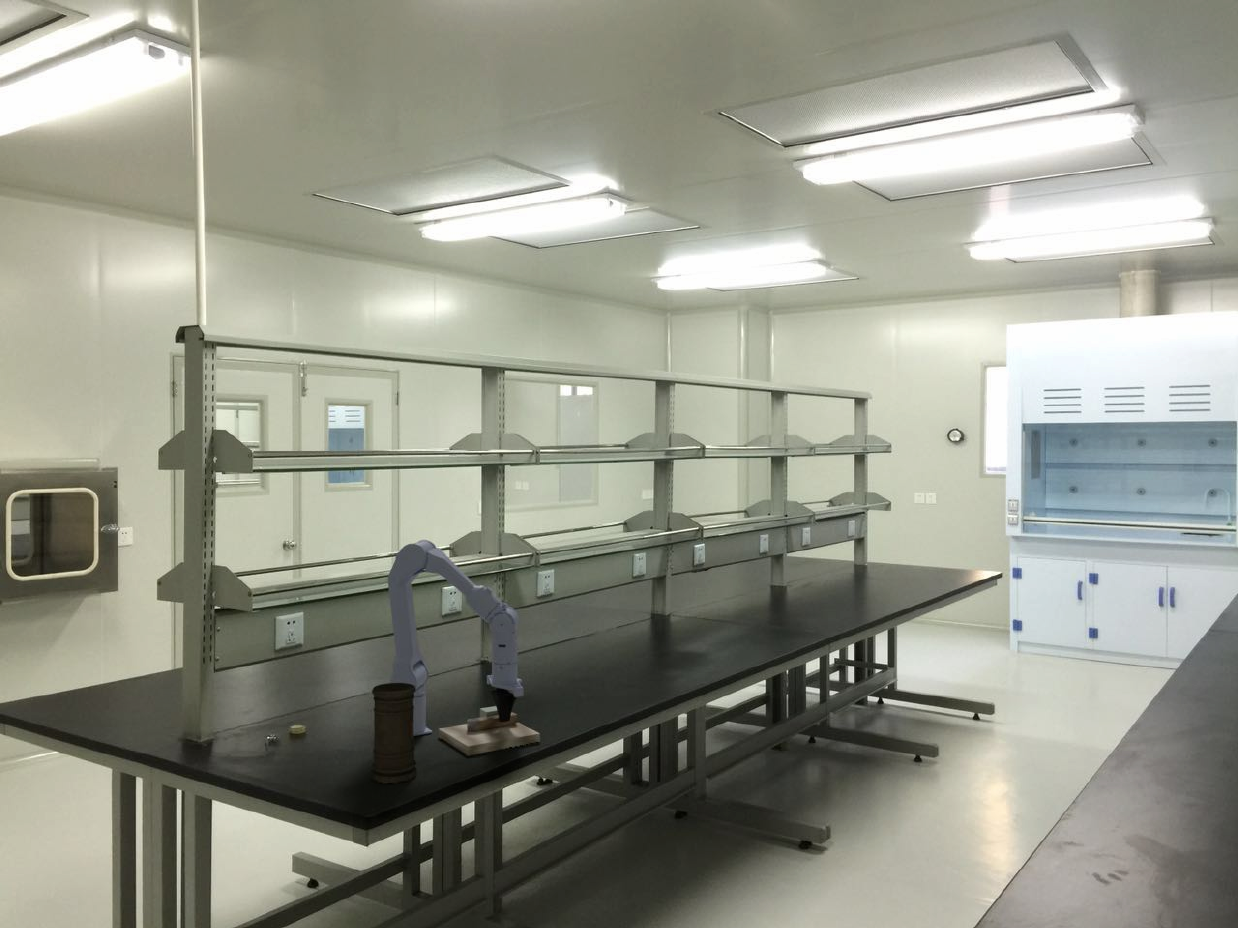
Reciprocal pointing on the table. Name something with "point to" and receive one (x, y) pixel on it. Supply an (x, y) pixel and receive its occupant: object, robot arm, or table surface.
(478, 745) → the stool seat
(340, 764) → the table surface
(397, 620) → the robot arm
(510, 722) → the stool leg
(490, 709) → the block
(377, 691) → the container
